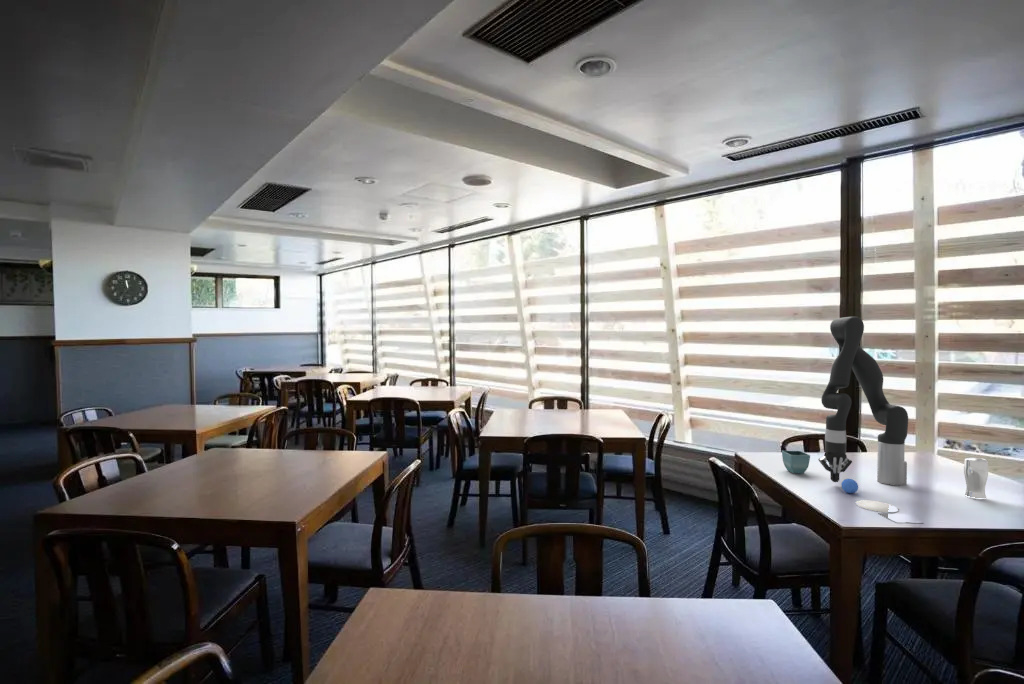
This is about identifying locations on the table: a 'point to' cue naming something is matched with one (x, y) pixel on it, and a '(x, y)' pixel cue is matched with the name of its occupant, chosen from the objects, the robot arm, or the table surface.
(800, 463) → the flower pot
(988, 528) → the table surface
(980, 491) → the beer glass
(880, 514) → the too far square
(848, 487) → the ball
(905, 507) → the table surface
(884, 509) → the disc
